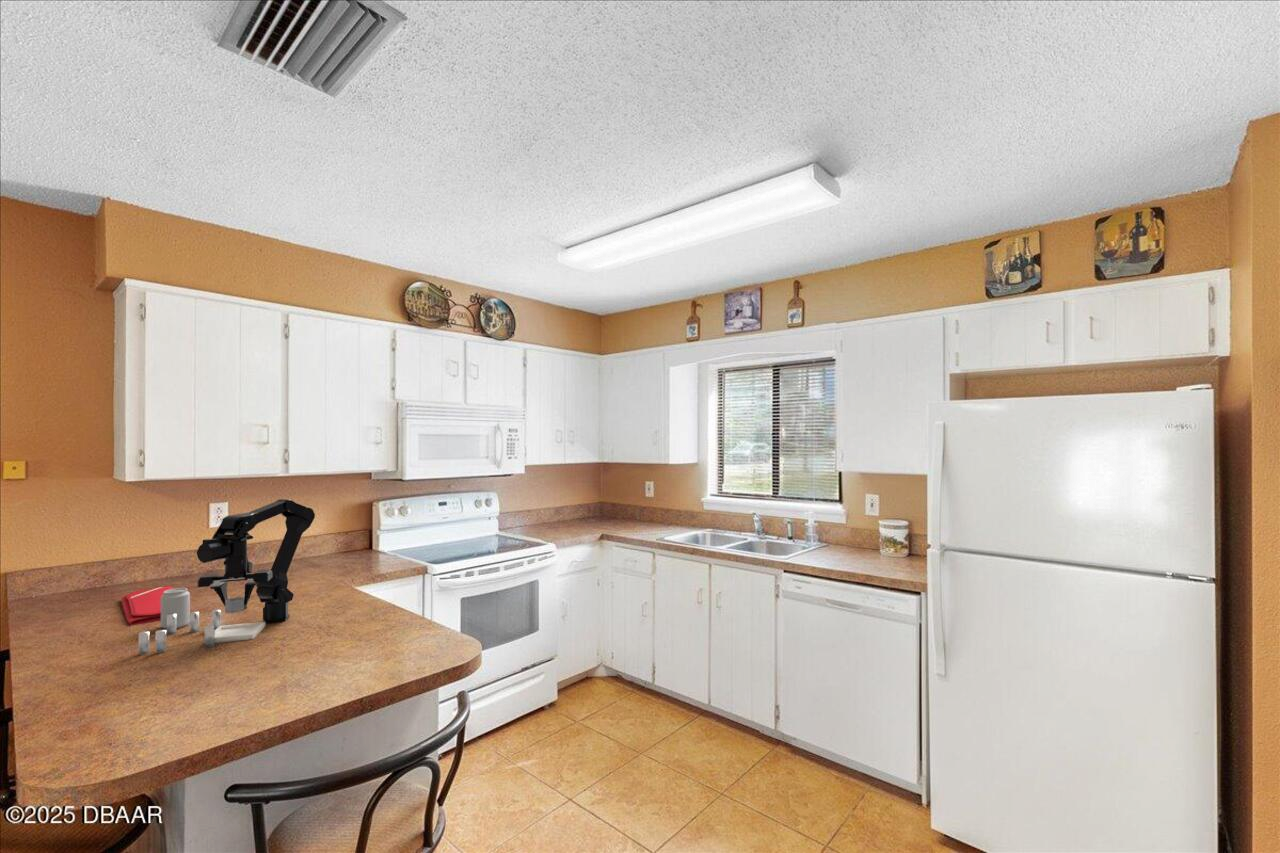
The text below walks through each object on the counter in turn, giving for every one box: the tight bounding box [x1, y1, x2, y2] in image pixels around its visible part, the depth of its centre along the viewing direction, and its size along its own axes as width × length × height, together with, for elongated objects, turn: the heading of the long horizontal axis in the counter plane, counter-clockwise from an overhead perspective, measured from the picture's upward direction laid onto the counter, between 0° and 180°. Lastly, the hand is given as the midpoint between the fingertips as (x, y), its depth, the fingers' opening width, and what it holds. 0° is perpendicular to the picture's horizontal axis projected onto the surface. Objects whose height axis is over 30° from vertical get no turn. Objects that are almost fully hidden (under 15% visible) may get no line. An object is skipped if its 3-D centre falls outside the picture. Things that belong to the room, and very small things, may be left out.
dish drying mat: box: [121, 586, 173, 626], centre depth 211 cm, size 16×41×4 cm, turn 45°
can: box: [160, 587, 191, 630], centre depth 190 cm, size 8×8×12 cm
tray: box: [203, 621, 266, 645], centre depth 181 cm, size 13×13×2 cm
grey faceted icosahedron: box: [224, 596, 248, 614], centre depth 182 cm, size 5×6×4 cm
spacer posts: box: [138, 609, 222, 656], centre depth 177 cm, size 18×20×6 cm
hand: (236, 605), depth 182 cm, fingers closed on grey faceted icosahedron, 5 cm apart
